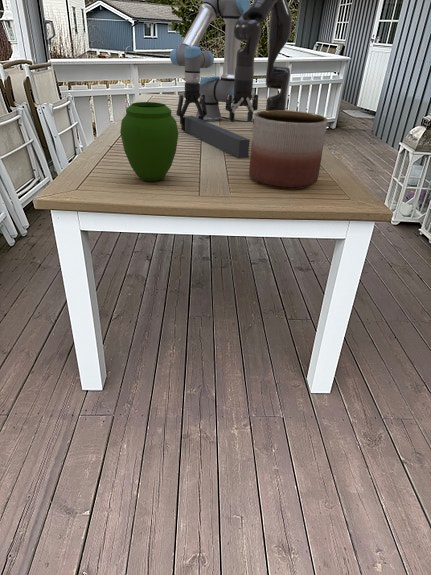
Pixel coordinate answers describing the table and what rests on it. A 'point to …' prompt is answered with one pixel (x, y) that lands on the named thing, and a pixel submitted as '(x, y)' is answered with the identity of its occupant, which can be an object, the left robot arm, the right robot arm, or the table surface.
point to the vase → (149, 139)
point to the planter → (287, 148)
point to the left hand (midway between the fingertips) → (191, 130)
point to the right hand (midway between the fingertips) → (240, 121)
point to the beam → (217, 136)
